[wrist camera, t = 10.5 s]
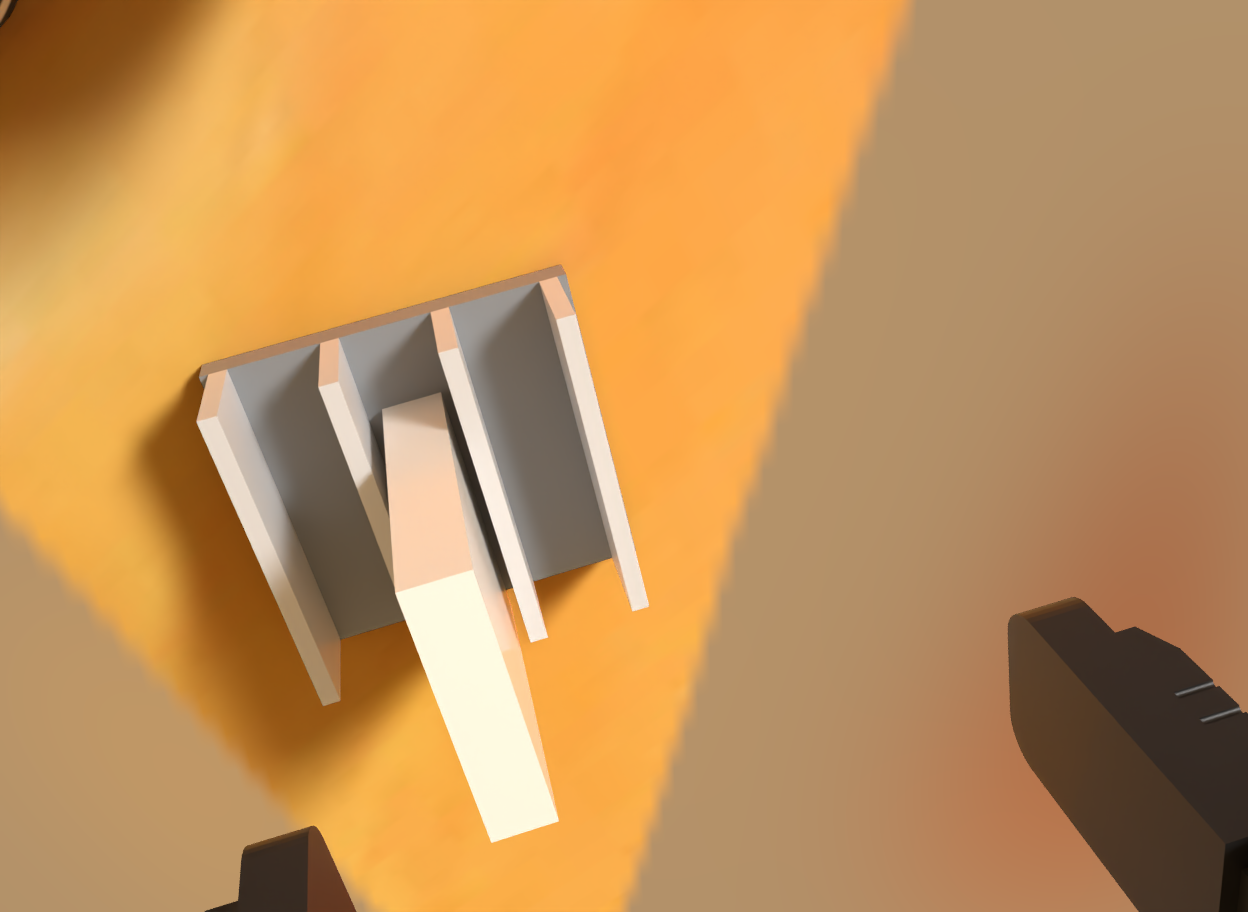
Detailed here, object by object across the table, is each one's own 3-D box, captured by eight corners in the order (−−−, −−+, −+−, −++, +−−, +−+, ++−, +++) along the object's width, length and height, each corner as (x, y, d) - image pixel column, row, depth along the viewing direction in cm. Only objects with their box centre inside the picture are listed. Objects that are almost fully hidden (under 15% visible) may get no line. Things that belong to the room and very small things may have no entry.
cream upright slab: (382, 409, 39) (394, 592, 30) (440, 392, 39) (472, 569, 30) (458, 622, 43) (491, 842, 34) (511, 606, 44) (559, 821, 34)
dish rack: (201, 365, 38) (186, 424, 34) (560, 264, 39) (585, 311, 35) (316, 630, 44) (314, 708, 40) (629, 536, 45) (657, 603, 41)
